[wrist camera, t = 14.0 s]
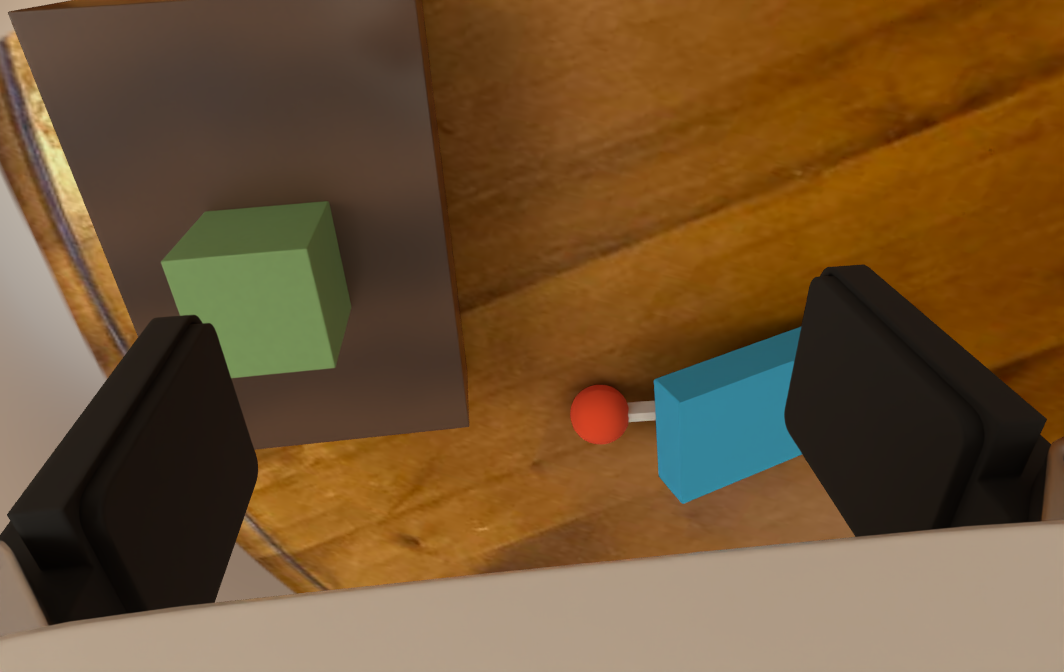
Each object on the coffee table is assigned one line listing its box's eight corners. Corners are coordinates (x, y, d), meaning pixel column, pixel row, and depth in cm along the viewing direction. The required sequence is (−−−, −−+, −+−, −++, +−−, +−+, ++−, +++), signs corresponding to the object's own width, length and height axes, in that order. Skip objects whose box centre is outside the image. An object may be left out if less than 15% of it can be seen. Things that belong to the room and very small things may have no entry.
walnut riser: (74, -1, 28) (6, 11, 24) (419, -23, 29) (413, -16, 25) (215, 398, 38) (185, 457, 34) (467, 372, 39) (469, 427, 35)
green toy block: (204, 211, 28) (159, 261, 24) (329, 200, 28) (307, 248, 24) (238, 318, 30) (202, 381, 26) (352, 307, 31) (335, 368, 26)
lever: (815, 271, 43) (554, 359, 39) (906, 318, 37) (612, 428, 33) (807, 362, 47) (567, 452, 42) (889, 417, 41) (621, 529, 36)
